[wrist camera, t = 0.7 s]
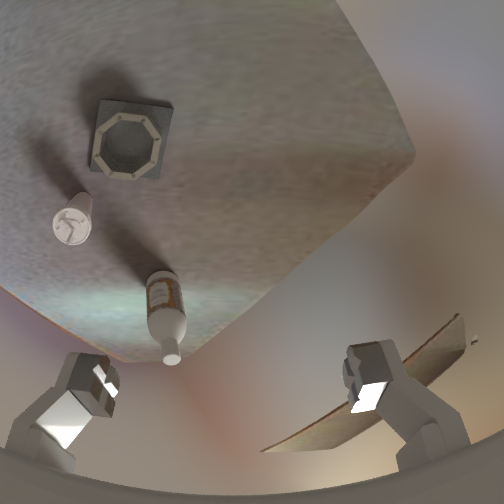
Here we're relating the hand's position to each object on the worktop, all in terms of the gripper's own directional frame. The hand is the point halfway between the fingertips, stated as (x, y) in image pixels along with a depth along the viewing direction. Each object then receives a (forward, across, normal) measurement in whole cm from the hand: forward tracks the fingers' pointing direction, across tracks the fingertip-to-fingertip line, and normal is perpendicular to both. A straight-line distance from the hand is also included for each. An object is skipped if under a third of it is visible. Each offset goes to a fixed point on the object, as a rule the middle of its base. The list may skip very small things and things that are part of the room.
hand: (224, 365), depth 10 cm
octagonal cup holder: (+42, +18, +1) cm, 46 cm away
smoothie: (+40, +28, +10) cm, 49 cm away
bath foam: (+42, +18, +30) cm, 55 cm away
